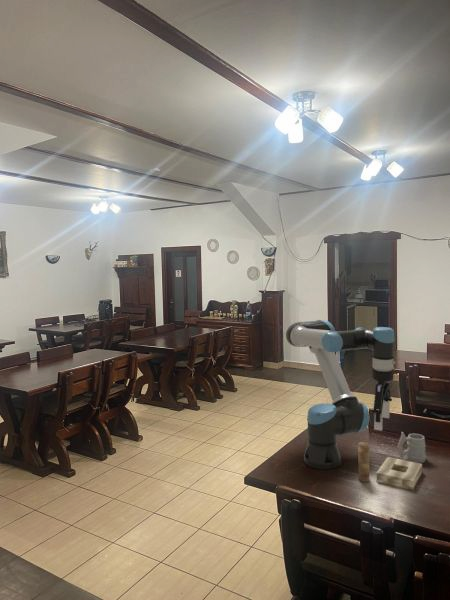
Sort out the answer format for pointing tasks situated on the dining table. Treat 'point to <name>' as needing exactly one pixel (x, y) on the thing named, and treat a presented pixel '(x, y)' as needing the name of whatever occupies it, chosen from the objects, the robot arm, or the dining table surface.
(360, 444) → the leg
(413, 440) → the mug
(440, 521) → the dining table surface
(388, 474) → the wooden block with hole
